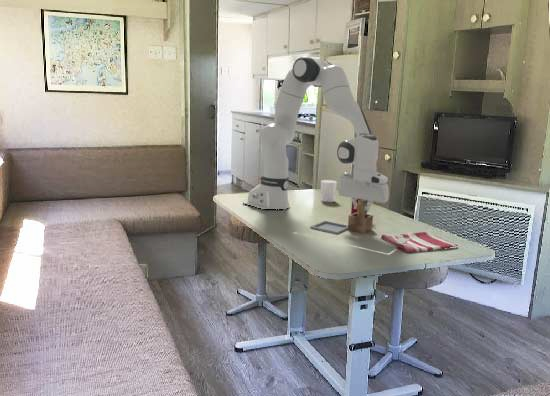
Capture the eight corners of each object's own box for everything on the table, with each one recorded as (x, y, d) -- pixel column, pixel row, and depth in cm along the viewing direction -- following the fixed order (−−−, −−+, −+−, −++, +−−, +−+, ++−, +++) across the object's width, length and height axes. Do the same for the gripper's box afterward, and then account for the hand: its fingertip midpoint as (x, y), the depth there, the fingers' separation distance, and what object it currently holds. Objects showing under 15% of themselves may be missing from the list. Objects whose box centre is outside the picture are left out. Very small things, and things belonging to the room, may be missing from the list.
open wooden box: (347, 231, 202) (348, 215, 200) (355, 227, 208) (356, 212, 206) (364, 235, 198) (365, 218, 196) (371, 231, 204) (373, 215, 202)
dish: (310, 229, 201) (310, 226, 201) (324, 223, 211) (324, 220, 211) (337, 235, 195) (337, 232, 195) (350, 229, 205) (350, 226, 205)
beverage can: (365, 222, 216) (368, 195, 214) (350, 221, 217) (352, 193, 215) (366, 218, 223) (368, 192, 220) (350, 217, 224) (353, 190, 221)
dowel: (354, 229, 202) (356, 200, 199) (357, 228, 205) (360, 199, 202) (361, 231, 200) (364, 201, 198) (365, 229, 203) (367, 200, 200)
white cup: (321, 198, 259) (323, 179, 257) (336, 200, 257) (338, 180, 255) (318, 201, 252) (319, 181, 250) (333, 203, 250) (335, 183, 248)
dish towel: (379, 240, 193) (379, 234, 193) (429, 236, 202) (429, 230, 201) (405, 255, 178) (406, 247, 177) (458, 250, 187) (459, 243, 186)
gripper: (337, 173, 201) (334, 207, 204) (385, 180, 190) (382, 216, 193) (344, 171, 206) (341, 204, 209) (392, 178, 195) (388, 213, 198)
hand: (361, 210), depth 201 cm, fingers closed on dowel, 3 cm apart
